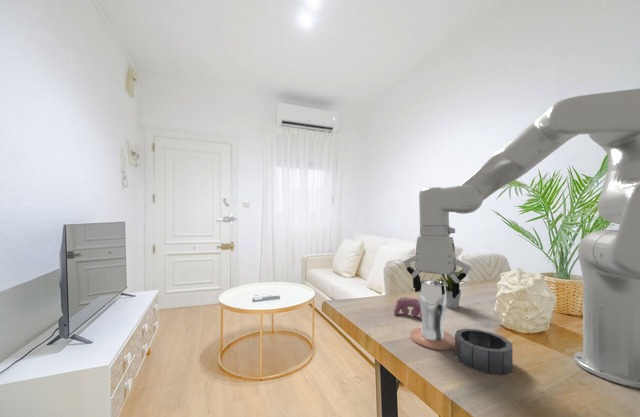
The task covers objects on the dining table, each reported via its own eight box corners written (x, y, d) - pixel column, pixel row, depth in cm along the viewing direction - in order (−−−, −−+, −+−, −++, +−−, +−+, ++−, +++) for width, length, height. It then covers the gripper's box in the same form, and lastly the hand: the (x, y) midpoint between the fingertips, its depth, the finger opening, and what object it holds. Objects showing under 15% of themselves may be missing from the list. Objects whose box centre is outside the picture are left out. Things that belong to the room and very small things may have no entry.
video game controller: (425, 322, 88) (427, 301, 91) (422, 320, 84) (424, 298, 87) (395, 316, 93) (398, 296, 96) (392, 314, 90) (395, 293, 92)
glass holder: (512, 358, 64) (512, 337, 64) (512, 381, 54) (512, 357, 54) (459, 343, 70) (459, 325, 70) (451, 362, 61) (451, 341, 61)
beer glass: (449, 344, 69) (449, 286, 69) (421, 341, 70) (421, 284, 71) (442, 332, 75) (443, 280, 76) (417, 330, 77) (417, 278, 77)
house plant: (483, 314, 92) (483, 267, 92) (444, 313, 92) (444, 266, 93) (462, 301, 106) (462, 260, 107) (428, 300, 106) (428, 260, 107)
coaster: (460, 337, 74) (460, 335, 74) (453, 355, 64) (453, 353, 64) (417, 326, 81) (417, 324, 81) (404, 341, 71) (404, 338, 71)
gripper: (471, 232, 71) (473, 295, 71) (407, 230, 81) (408, 286, 81) (467, 233, 65) (469, 303, 65) (399, 231, 75) (400, 291, 75)
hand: (435, 293), depth 73 cm, fingers open, 9 cm apart
